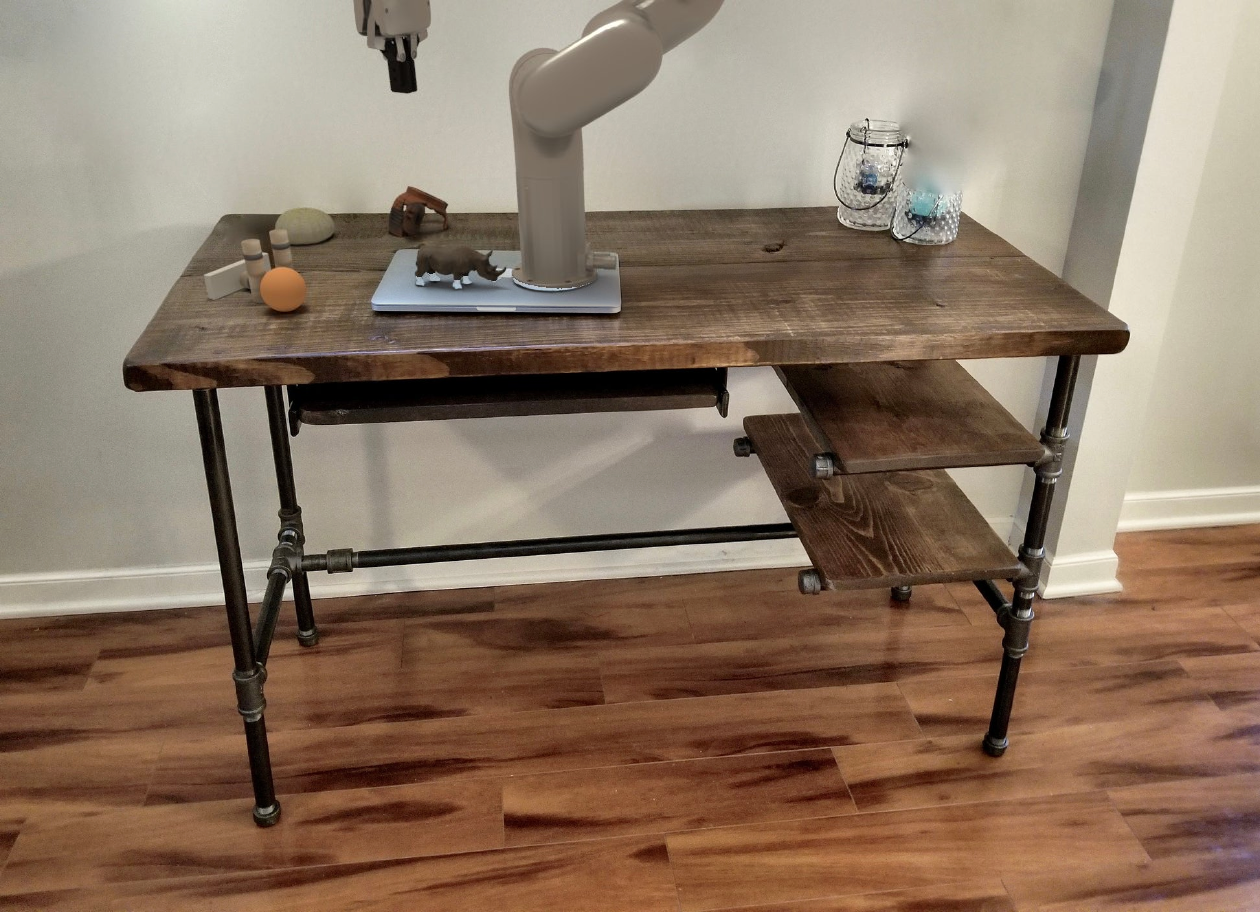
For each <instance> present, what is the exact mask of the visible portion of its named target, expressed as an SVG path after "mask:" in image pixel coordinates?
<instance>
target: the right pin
mask: <svg viewBox="0 0 1260 912" xmlns="http://www.w3.org/2000/svg"><path fill="white" fill-rule="evenodd" d="M268 234H269V238H270V246H271V250H272V253H273V260H274V266H275V268H278V267H286V268H290V269H293V270H295V269H294V263H293V257H292V251H291V244H290V243H289V239H288V234H287V230H285V229H275V228H274V229H272V230H270V231H269V233H268Z"/></svg>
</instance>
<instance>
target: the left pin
mask: <svg viewBox="0 0 1260 912" xmlns="http://www.w3.org/2000/svg"><path fill="white" fill-rule="evenodd" d="M240 243H241V248H242V249H241V250H242V255H243V260H245V264H246V269H247V273H248V278H249V283H250V288H251V289H250V292H251V297H252V302H253V303H254V304H266V303H265V301H264V300H263V298H262V296H261V292H260V284H261V281H262V279H263V277H264V276H265V274H266V271H265V266H264V261H263V254H262V252H263V250H262V246H261V240H260V239H258V238H249V239H244V240H242V241H241V242H240Z"/></svg>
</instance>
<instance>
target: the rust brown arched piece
mask: <svg viewBox="0 0 1260 912" xmlns="http://www.w3.org/2000/svg"><path fill="white" fill-rule="evenodd" d="M405 206H406V207H405ZM448 206H449V203H447V202H446V201H444V200H443V199H441V198H438V197H437V196H434V195H432V194H430V193H428V192H426V191H423V190H421V189H419V188H416V187H414V186H409V185H408V186H407V188H406V190H405V192H402V193H401V194H399V195H398V196H397V197H396V198H395V200H394V201H393V204H392V205H391V207H390V211H389V213H390V214H389V217H388V228H387V231H388V232H389V233H390V234H392V235H395V236H396V237H399V238H403V236H404V231H405V232H406V233H408V234H409V235H414V234H418V233H420V230H421V225H422V222H423V220H424V218H425V216H426V208H427V209H428V210H430V211H434V213H435V214H437V215H440V216H441V217H442V218H443V219H444V220H443V225H442V226H443V227H442V228H443V230H446V229H447V228H448V227H447V226H448V222H449V219H448V216H449V215H448V212H447V208H448ZM404 208H405V210H404Z"/></svg>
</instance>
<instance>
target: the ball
mask: <svg viewBox="0 0 1260 912" xmlns="http://www.w3.org/2000/svg"><path fill="white" fill-rule="evenodd" d="M307 290H308V289H307V285H306V282H305V280H304V278H303V277H302V275H301V274H300V273H298V272H297V271H296V270H295V269H294V270H293V269H290V268H286V267H278V268H276V267H275V268H271V270H270V271H269V272H267V273H266V274H265V276H264V277H263V279H262V281H261V284H260V292H261V296H262V298H263V300H264V301H265V303H264V304H266V305H267V306H268V307H270V308H271V309H273V310H275V311H278V312H282V313H284V312H291V311H295V310H297V308H299V307H301V305H302V304H303V303H304V301H305V299H306V297H307Z"/></svg>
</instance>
